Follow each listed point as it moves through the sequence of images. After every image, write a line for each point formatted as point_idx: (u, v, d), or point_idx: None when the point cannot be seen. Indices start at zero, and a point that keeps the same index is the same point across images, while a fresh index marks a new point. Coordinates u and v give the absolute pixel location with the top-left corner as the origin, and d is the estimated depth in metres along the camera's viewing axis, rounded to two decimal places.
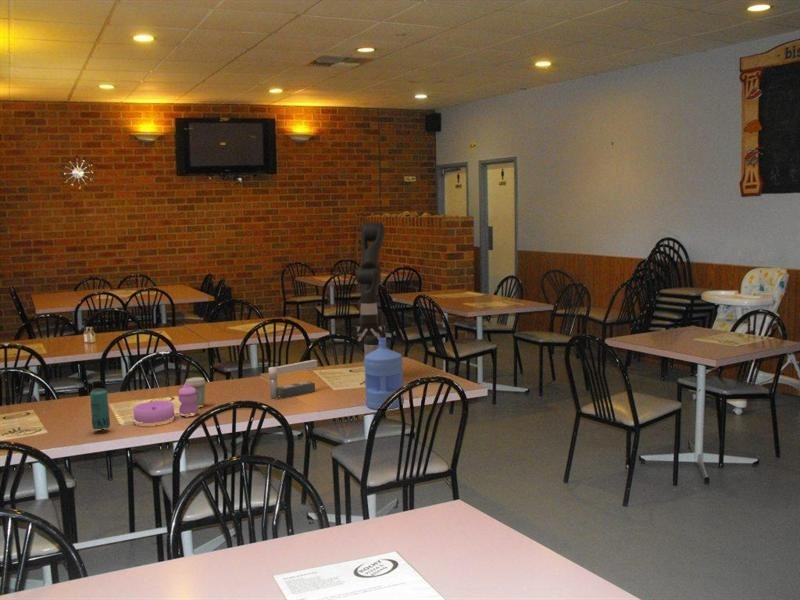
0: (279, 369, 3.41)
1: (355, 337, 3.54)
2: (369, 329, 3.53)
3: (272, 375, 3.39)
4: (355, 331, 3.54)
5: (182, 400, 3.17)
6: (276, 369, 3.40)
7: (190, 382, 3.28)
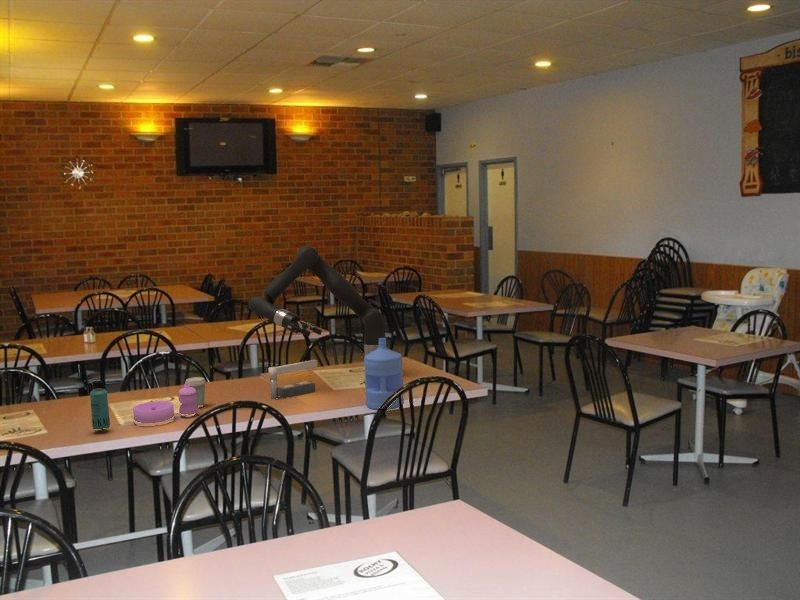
0: (279, 369, 3.41)
1: None
2: None
3: (272, 375, 3.39)
4: None
5: (182, 400, 3.16)
6: (276, 369, 3.40)
7: (190, 382, 3.28)
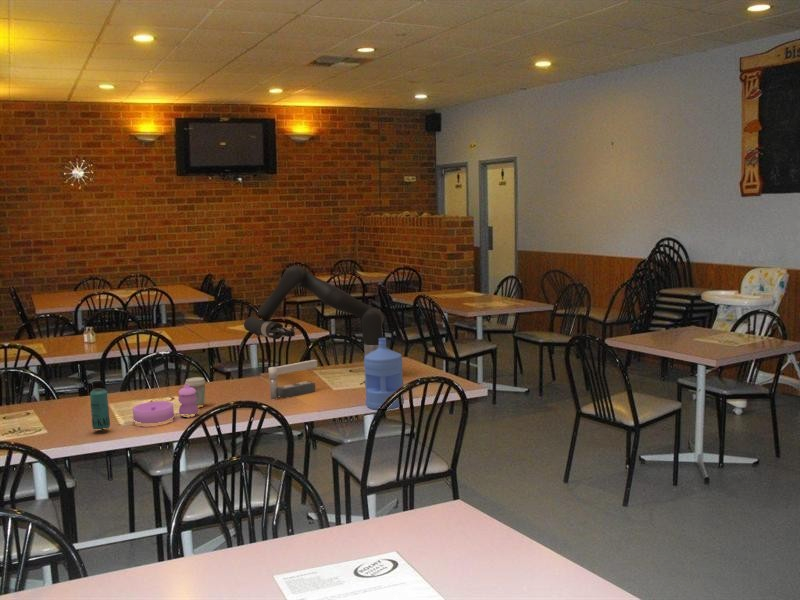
0: (279, 369, 3.41)
1: None
2: None
3: (272, 375, 3.39)
4: None
5: (182, 401, 3.16)
6: (276, 369, 3.40)
7: (190, 382, 3.28)
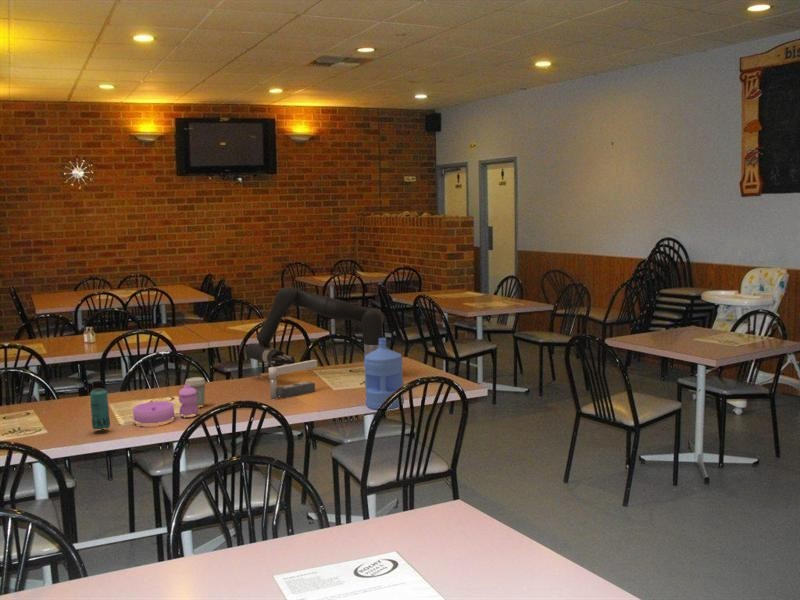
0: (279, 369, 3.41)
1: None
2: None
3: (272, 375, 3.39)
4: None
5: (182, 401, 3.15)
6: (276, 369, 3.40)
7: (190, 382, 3.28)
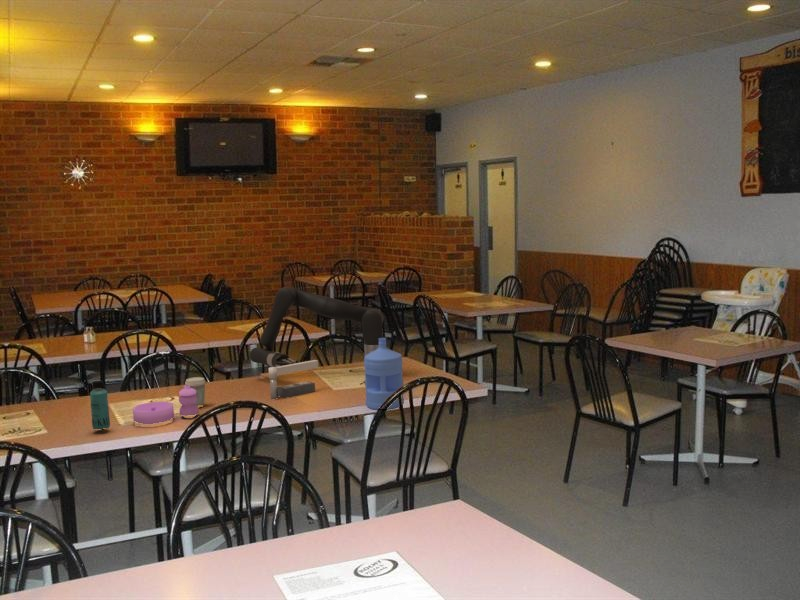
0: (279, 369, 3.41)
1: None
2: None
3: (272, 375, 3.39)
4: None
5: (182, 401, 3.14)
6: (276, 369, 3.40)
7: (190, 382, 3.28)
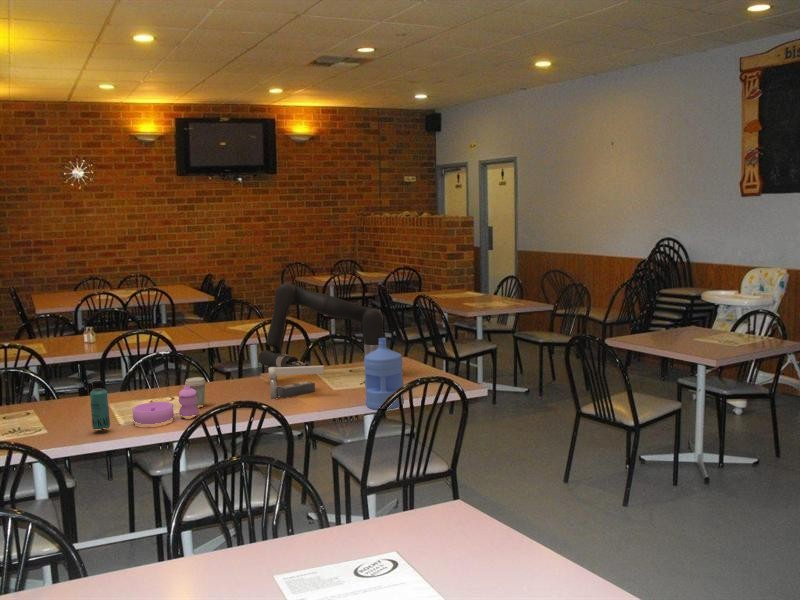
0: (278, 370, 3.39)
1: None
2: None
3: (270, 375, 3.39)
4: None
5: (181, 402, 3.14)
6: (274, 370, 3.39)
7: (190, 382, 3.28)
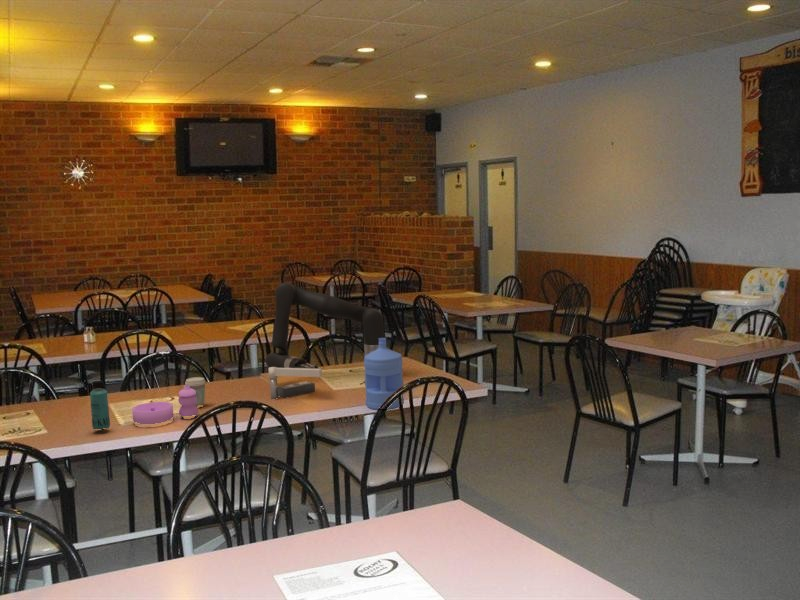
0: (277, 370, 3.39)
1: None
2: None
3: (269, 375, 3.40)
4: None
5: (181, 402, 3.14)
6: (273, 370, 3.39)
7: (190, 382, 3.28)
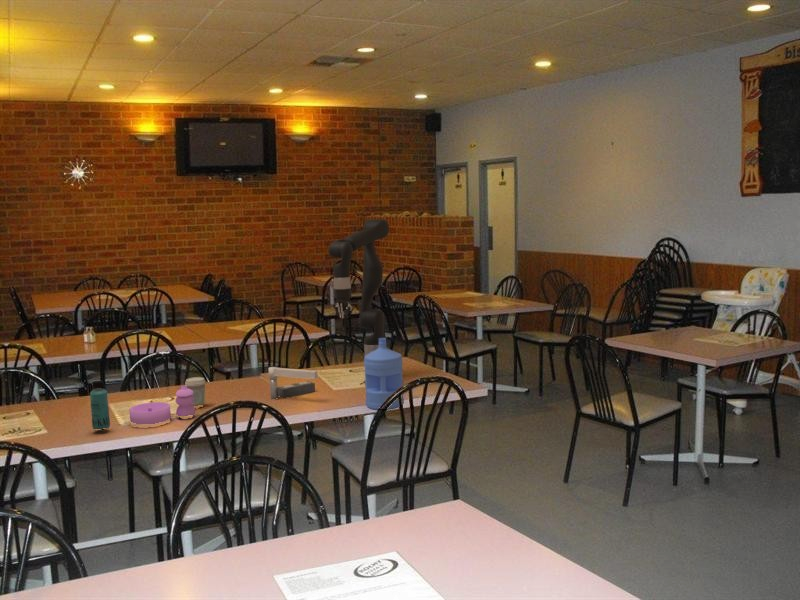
0: (276, 371, 3.38)
1: (338, 313, 3.48)
2: None
3: (269, 375, 3.40)
4: (335, 308, 3.50)
5: (178, 402, 3.14)
6: (272, 370, 3.39)
7: (190, 382, 3.28)
